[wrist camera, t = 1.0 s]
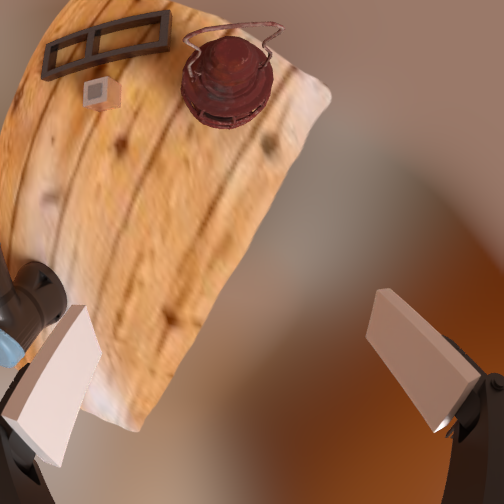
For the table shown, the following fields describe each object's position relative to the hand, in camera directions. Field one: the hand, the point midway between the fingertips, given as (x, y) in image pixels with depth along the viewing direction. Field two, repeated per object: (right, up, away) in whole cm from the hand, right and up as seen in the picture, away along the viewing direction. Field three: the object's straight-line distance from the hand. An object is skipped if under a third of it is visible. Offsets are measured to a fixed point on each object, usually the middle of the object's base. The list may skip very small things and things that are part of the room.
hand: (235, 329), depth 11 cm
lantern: (-4, +29, +31) cm, 43 cm away
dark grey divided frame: (-27, +42, +23) cm, 55 cm away
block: (-25, +31, +27) cm, 48 cm away
